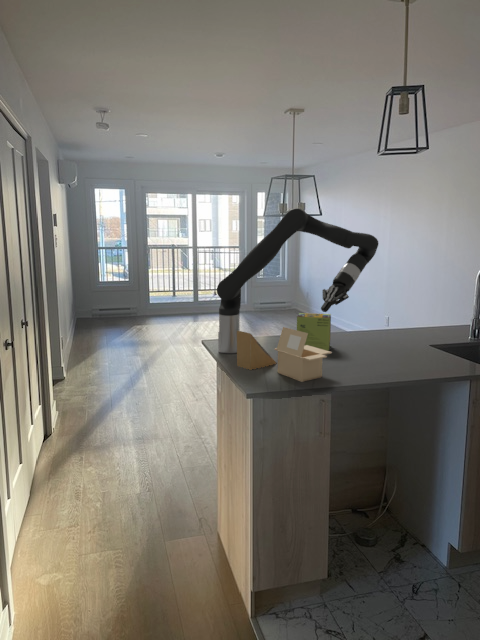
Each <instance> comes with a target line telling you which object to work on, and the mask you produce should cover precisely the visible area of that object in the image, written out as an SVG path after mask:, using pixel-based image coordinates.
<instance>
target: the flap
mask: <svg viewBox="0 0 480 640" xmlns="http://www.w3.org/2000/svg"><path fill="white" fill-rule="evenodd" d="M307 335H308V333H305V332H301V331H297V329H292V328H289V327H284V326H283V327H282V329H281V332H280V336H279V340H278V342H277V343H278V344H277V347H276V348H277V350H280V351H283V352H286V353H289V354H292V355H295V356H299V357H301V356H302V353H303V349H304V346H305V342H306V339H307ZM277 350H276V351H277Z"/></svg>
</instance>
